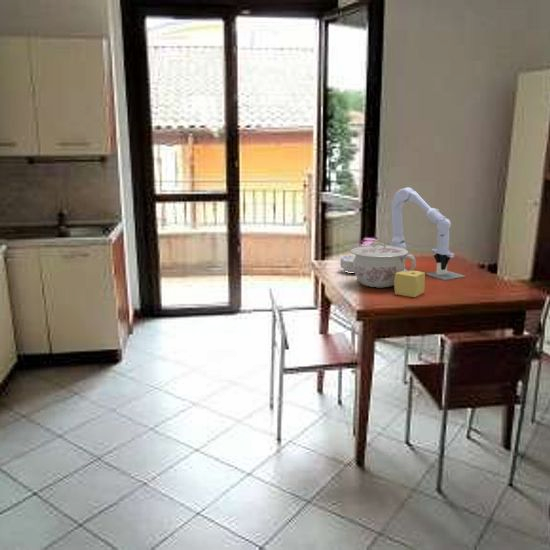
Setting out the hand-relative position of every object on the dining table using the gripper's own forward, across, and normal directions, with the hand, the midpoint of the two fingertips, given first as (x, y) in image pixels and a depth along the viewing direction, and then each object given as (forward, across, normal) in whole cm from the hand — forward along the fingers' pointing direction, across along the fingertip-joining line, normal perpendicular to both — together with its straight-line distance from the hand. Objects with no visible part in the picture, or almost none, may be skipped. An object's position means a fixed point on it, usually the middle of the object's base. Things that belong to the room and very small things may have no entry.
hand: (441, 268), depth 282 cm
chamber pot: (+3, 0, +39) cm, 39 cm away
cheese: (+4, -20, +36) cm, 41 cm away
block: (+3, 0, 0) cm, 3 cm away
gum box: (+3, +41, +17) cm, 44 cm away
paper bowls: (+3, +27, +35) cm, 44 cm away
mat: (+3, -2, -1) cm, 4 cm away
